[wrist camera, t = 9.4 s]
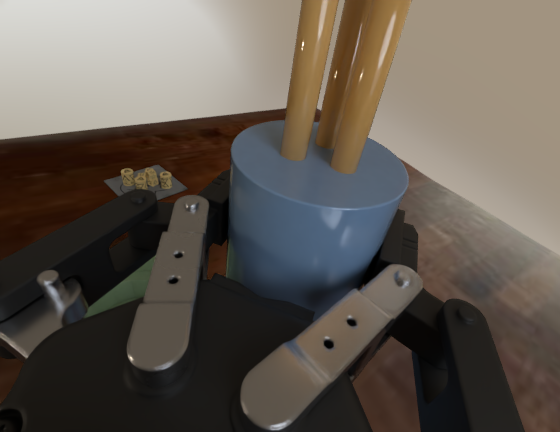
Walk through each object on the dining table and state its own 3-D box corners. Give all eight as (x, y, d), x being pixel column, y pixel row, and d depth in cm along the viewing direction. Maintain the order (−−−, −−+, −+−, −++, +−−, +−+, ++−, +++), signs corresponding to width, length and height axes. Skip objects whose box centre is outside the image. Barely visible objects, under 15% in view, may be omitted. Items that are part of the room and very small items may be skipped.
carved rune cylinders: (174, 186, 44) (173, 175, 43) (139, 199, 41) (136, 187, 40) (155, 171, 47) (154, 159, 46) (120, 182, 44) (118, 169, 42)
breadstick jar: (207, 320, 19) (200, -171, 7) (293, 287, 21) (389, -105, 10) (251, 423, 15) (396, -287, 3) (349, 367, 18) (618, -124, 6)
